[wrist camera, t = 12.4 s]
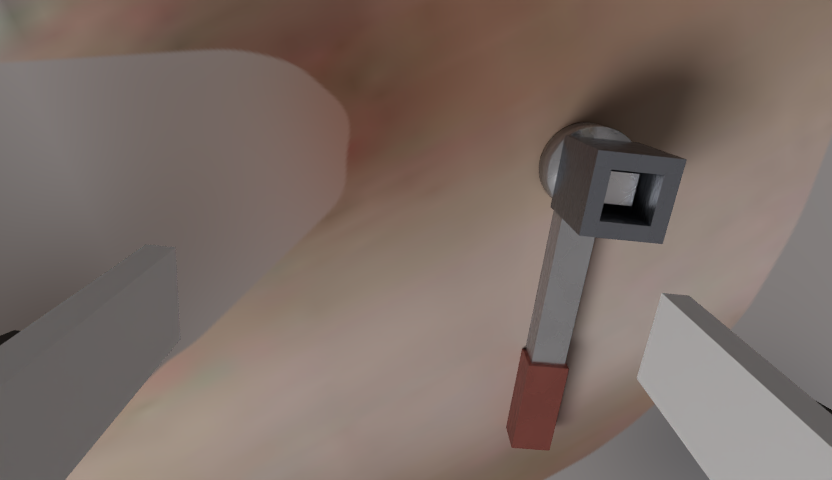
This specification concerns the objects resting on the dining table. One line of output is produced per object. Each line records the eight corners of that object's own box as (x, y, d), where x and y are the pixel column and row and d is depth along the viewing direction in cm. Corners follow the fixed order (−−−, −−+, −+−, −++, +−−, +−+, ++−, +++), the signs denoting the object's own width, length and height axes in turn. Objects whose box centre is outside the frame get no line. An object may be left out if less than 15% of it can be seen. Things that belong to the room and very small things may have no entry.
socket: (565, 134, 38) (598, 149, 31) (638, 142, 38) (686, 159, 31) (550, 206, 40) (579, 235, 33) (620, 213, 40) (662, 243, 33)
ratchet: (547, 117, 40) (579, 130, 33) (633, 127, 41) (684, 141, 33) (489, 426, 50) (503, 490, 42) (558, 431, 50) (584, 496, 43)
